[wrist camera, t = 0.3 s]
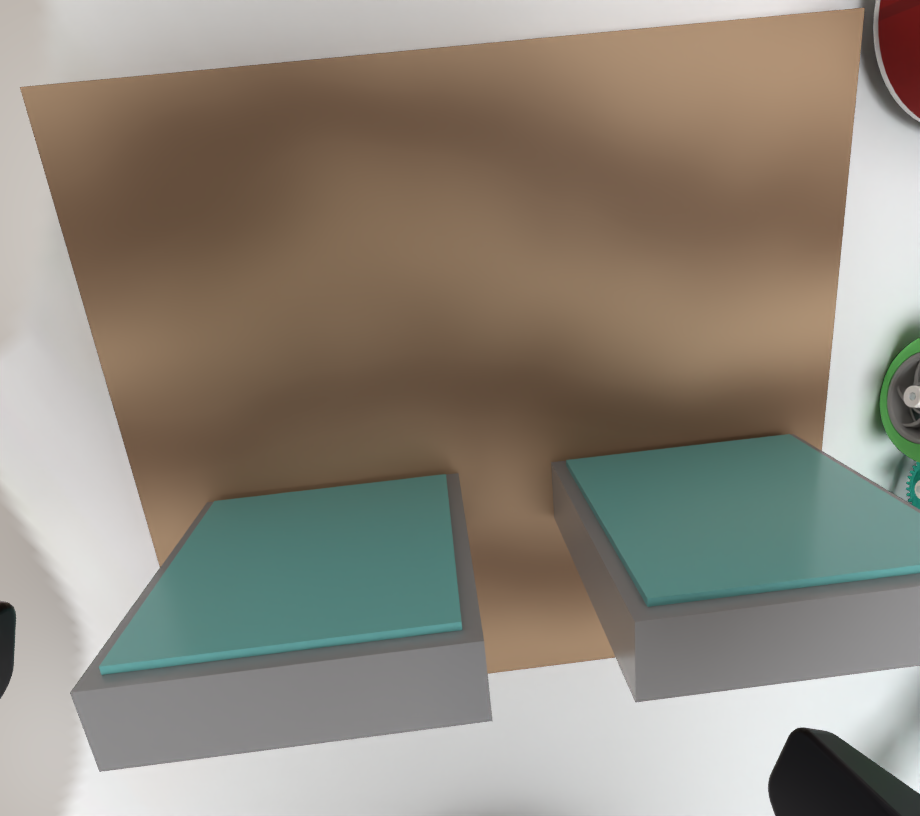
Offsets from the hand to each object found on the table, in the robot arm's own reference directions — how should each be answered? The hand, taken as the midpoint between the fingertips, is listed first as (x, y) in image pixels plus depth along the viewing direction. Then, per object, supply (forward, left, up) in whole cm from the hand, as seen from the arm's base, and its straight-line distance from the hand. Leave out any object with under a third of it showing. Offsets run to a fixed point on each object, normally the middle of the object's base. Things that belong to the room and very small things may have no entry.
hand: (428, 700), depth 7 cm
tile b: (-4, -8, -12) cm, 15 cm away
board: (-1, -2, -14) cm, 14 cm away
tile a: (-4, +3, -12) cm, 13 cm away
